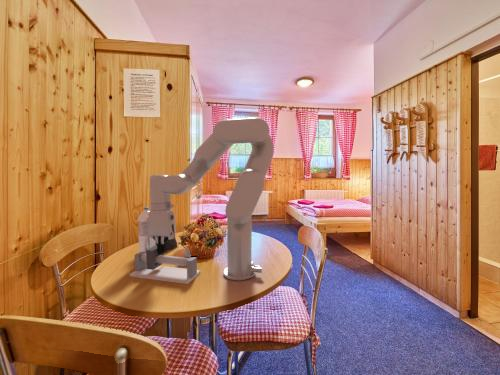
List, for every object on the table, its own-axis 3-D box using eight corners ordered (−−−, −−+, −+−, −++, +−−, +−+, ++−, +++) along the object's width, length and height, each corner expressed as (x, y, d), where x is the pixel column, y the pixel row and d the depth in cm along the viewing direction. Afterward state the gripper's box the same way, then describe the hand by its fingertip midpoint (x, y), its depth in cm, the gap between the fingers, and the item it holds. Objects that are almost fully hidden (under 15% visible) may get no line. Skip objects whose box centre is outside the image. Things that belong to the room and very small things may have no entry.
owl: (158, 253, 121) (156, 213, 120) (142, 249, 128) (141, 210, 127) (178, 247, 132) (177, 209, 130) (163, 242, 139) (162, 207, 137)
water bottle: (150, 267, 105) (148, 208, 103) (136, 265, 106) (134, 208, 104) (159, 261, 112) (157, 206, 110) (145, 260, 113) (144, 205, 111)
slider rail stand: (200, 272, 100) (200, 254, 99) (188, 284, 90) (187, 263, 89) (146, 266, 106) (146, 249, 105) (129, 276, 96) (129, 257, 96)
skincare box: (199, 253, 121) (198, 229, 120) (197, 257, 117) (197, 232, 116) (186, 254, 121) (186, 229, 120) (184, 257, 117) (184, 232, 116)
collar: (162, 263, 101) (162, 245, 101) (153, 269, 96) (152, 250, 95) (156, 262, 102) (155, 245, 102) (146, 268, 96) (146, 250, 96)
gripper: (183, 206, 98) (183, 251, 99) (150, 204, 102) (151, 248, 103) (172, 209, 91) (173, 258, 92) (137, 207, 94) (139, 254, 96)
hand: (161, 252), depth 98 cm, fingers closed
